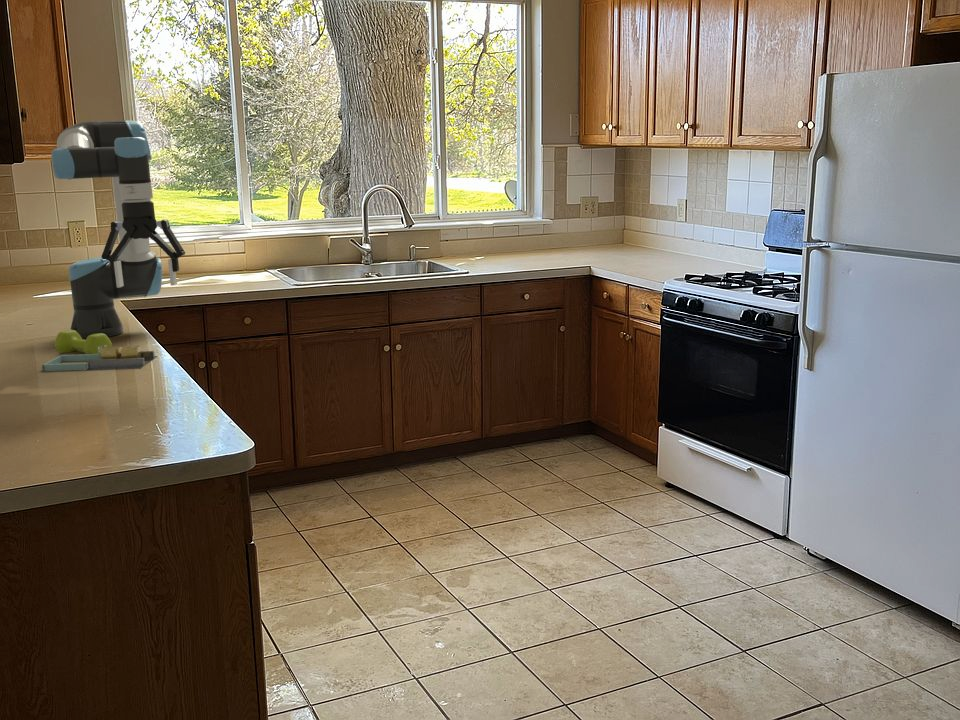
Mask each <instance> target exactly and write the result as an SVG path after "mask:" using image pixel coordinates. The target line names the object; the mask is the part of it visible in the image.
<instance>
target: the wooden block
mask: <svg viewBox="0 0 960 720" xmlns="http://www.w3.org/2000/svg"><path fill="white" fill-rule="evenodd" d="M121 349H122V346H112V347H105V348H103V349H102V350H100V355H101V359H122V357H121Z"/></svg>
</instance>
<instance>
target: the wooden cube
mask: <svg viewBox="0 0 960 720" xmlns="http://www.w3.org/2000/svg"><path fill="white" fill-rule="evenodd" d="M140 351H141V347H140V345H134V346H133V345H132V346H131V345H130V346H127V345H126V346H122V347H121V357H122V359H124V358H141V355H140Z"/></svg>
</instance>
